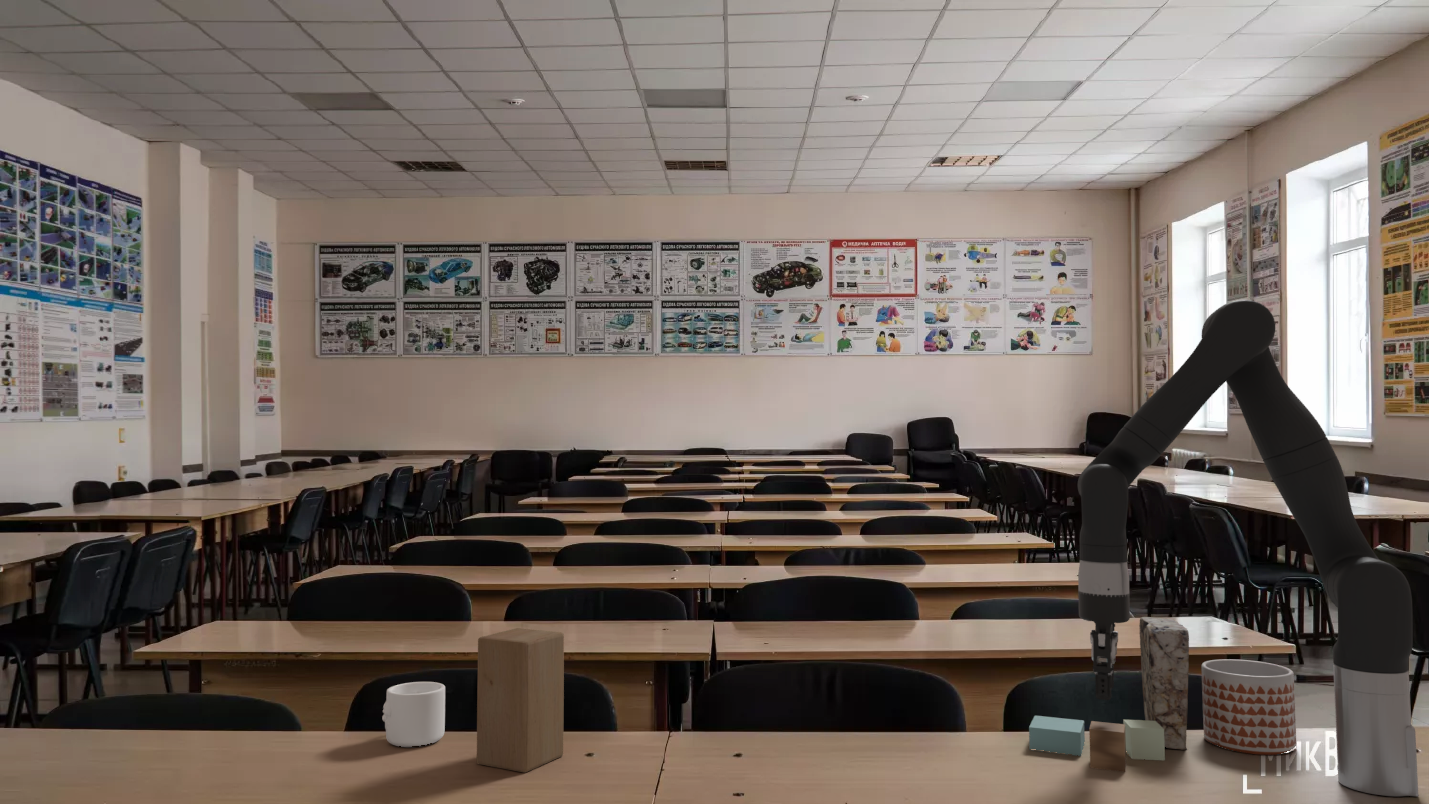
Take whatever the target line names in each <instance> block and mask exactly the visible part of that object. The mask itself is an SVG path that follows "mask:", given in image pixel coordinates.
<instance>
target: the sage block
mask: <svg viewBox="0 0 1429 804" xmlns="http://www.w3.org/2000/svg"><path fill="white" fill-rule="evenodd" d="M1122 720H1123V721H1122V724H1125V735H1126V751H1127V753H1128V754H1129V755H1128V754H1127V753H1126V754H1127V755H1128V757H1130V758H1131V760H1144V759H1145V761H1146V760H1147V761H1166V755H1165V754H1166V752H1165V745H1164V729H1163V728H1162V727H1161V726H1160V725H1159V724H1158V723H1157V722H1156V721H1148V720H1142V719H1122Z"/></svg>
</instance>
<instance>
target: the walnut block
mask: <svg viewBox="0 0 1429 804" xmlns="http://www.w3.org/2000/svg"><path fill="white" fill-rule="evenodd" d="M1088 729H1089V733H1088V734H1089V763H1090V764H1089V765H1090V769H1099V770H1107V771H1112V772H1113V771H1114V772H1123V773H1125V772H1126V768H1127V753H1126V735H1125V724H1123V723H1113V722H1104V721H1103V722H1102V721H1096V720H1095V721H1094V720H1091V721H1090V725H1089V728H1088Z"/></svg>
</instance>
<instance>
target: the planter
mask: <svg viewBox="0 0 1429 804" xmlns="http://www.w3.org/2000/svg"><path fill="white" fill-rule="evenodd" d="M1294 674H1295V673H1294V671H1293V670H1292V669H1290V668H1288V667H1286V666H1282V665H1281V664H1279V665H1278V664H1274V663H1269V662H1265V661H1257V660H1249V659H1248V660H1247V659H1230V658H1229V659H1222V658H1221V659H1212V660H1206V661H1204V662H1202V664H1201V691H1202V692H1201V693H1202V718H1203V738H1204V740H1205V741H1207V742H1208V743H1209V742H1210V743H1209V744H1211V743H1212V744H1211V745H1213V744H1214V745H1213V746H1215V745H1218V746H1220V747H1223V748H1226V749H1225V750H1227V749H1229V750H1228V751H1231V750H1233V751H1232V752H1235V751H1237V752H1236V753H1241V752H1242V754H1246V755H1247V754H1248V755H1249V754H1250V755H1259V756H1278V755H1277V754H1281V753H1284V752H1287V751H1290V750H1291V749H1293V748H1294V747H1295V746H1296V747H1297V723H1296V720H1297V719H1296V699H1295V698H1296V697H1295V675H1294ZM1220 747H1219V748H1220ZM1223 748H1222V749H1223Z"/></svg>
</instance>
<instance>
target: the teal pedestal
mask: <svg viewBox="0 0 1429 804" xmlns="http://www.w3.org/2000/svg"><path fill="white" fill-rule="evenodd" d="M1028 734H1029V735H1028V738H1029V739H1028V740H1029V742H1028V743H1029V744H1028V745H1029V746H1028V747H1029V750H1030V749H1036V750H1044V751H1050V752H1049V753H1051V752H1057V753H1056V754H1060V753H1065V754H1064V755H1068V754H1072V755H1071V756H1077V755H1078V756H1079V757H1082V755H1083V751H1082V750H1084V747H1085V744H1084V742H1086V740H1085V739H1086V738H1085V737H1086V736H1085V720H1082V719H1073V718H1061V717H1053V716H1042V715H1034V716H1033V718H1032V720H1031V722H1030V725H1029V727H1028ZM1083 746H1084V747H1083ZM1081 754H1082V755H1081ZM1078 756H1077V757H1078Z"/></svg>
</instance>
